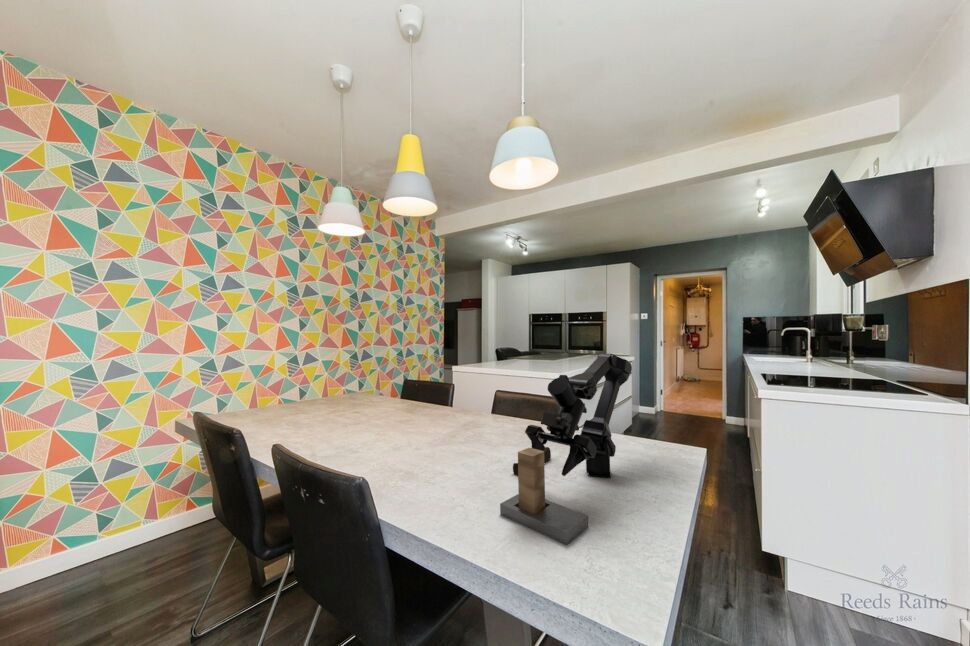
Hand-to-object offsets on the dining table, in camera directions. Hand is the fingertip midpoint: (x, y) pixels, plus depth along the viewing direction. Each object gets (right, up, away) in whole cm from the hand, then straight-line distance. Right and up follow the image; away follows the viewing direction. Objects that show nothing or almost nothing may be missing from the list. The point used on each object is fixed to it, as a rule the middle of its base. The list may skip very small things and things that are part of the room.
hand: (546, 470), depth 88 cm
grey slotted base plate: (-2, -9, -7) cm, 11 cm away
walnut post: (-4, -9, -5) cm, 11 cm away
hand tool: (0, -10, +26) cm, 28 cm away
